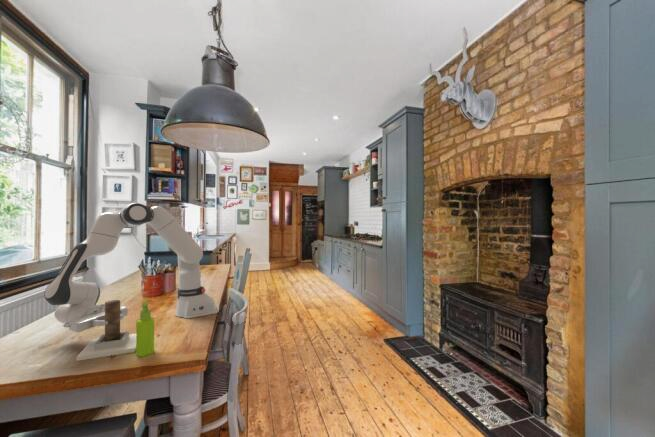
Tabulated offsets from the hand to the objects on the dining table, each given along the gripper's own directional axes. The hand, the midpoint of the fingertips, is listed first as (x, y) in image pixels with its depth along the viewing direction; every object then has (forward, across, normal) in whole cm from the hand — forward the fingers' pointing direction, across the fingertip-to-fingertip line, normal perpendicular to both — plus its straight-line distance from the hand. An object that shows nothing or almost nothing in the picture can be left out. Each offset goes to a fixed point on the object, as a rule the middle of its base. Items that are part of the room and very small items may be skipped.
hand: (114, 320), depth 115 cm
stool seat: (-1, 0, +11) cm, 11 cm away
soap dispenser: (+16, 0, +11) cm, 20 cm away
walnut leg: (-1, 0, +8) cm, 9 cm away
